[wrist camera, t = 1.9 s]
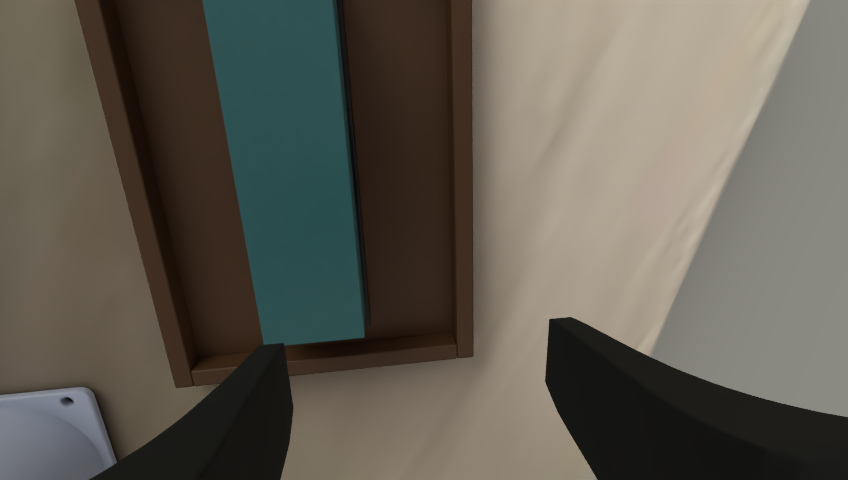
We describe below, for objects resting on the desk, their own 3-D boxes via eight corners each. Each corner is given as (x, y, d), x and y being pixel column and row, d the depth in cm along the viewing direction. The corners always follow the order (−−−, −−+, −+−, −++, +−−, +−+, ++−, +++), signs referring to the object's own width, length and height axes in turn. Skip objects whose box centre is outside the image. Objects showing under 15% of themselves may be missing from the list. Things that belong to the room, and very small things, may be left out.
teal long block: (370, 311, 22) (372, 359, 19) (279, 320, 22) (262, 371, 18) (341, -23, 18) (335, -49, 14) (224, -20, 17) (186, -46, 13)
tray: (187, 369, 22) (175, 388, 21) (72, -91, 16) (45, -107, 15) (467, 340, 24) (474, 357, 22) (462, -93, 18) (471, -108, 16)
